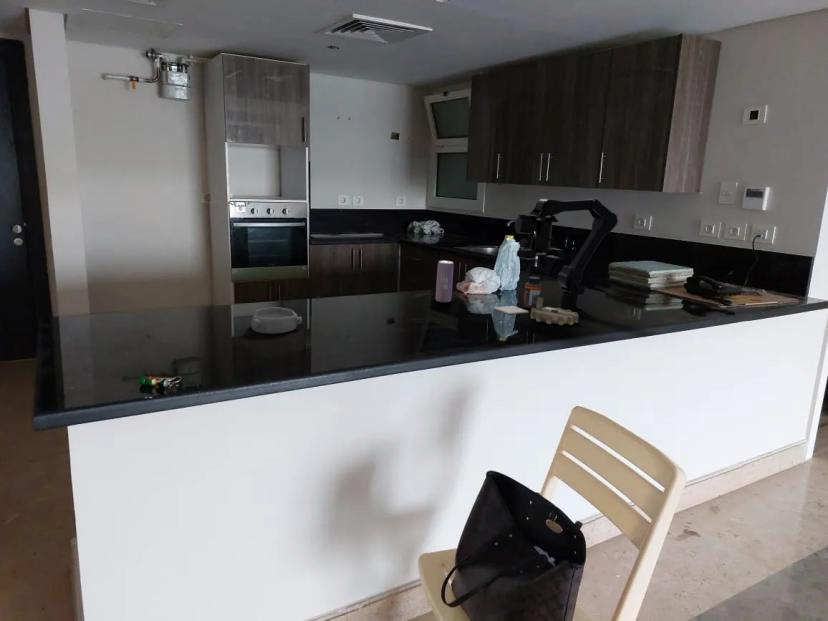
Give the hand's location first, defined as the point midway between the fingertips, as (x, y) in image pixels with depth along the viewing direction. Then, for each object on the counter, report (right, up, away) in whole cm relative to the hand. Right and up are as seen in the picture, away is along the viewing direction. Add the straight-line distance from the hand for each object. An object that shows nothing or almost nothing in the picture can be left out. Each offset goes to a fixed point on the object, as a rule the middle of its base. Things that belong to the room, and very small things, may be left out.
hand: (538, 276), depth 212 cm
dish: (-87, -18, -43) cm, 99 cm away
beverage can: (-35, -9, +7) cm, 37 cm away
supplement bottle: (-2, -11, +5) cm, 12 cm away
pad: (-11, -13, -4) cm, 17 cm away
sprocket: (+2, -16, -14) cm, 21 cm away
